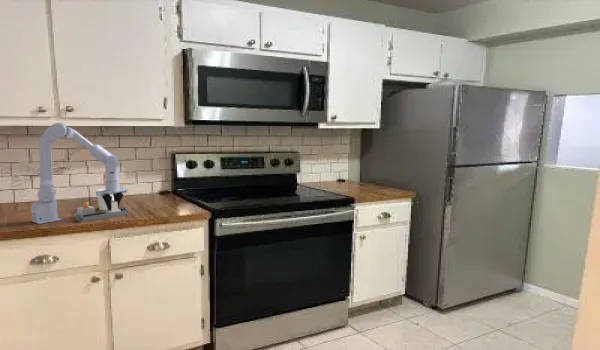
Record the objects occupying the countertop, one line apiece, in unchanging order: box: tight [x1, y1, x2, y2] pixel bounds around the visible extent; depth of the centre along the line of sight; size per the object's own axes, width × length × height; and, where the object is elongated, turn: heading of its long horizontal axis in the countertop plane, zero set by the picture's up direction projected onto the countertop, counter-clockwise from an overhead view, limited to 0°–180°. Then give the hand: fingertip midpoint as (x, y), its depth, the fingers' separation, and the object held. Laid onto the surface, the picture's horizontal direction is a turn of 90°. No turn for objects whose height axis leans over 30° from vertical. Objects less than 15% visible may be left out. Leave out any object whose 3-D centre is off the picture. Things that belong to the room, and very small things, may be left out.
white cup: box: [96, 188, 114, 211], centre depth 205 cm, size 8×8×10 cm
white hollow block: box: [76, 205, 96, 215], centre depth 190 cm, size 6×5×4 cm
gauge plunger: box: [82, 201, 90, 209], centre depth 189 cm, size 2×2×4 cm
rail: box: [75, 205, 129, 223], centre depth 188 cm, size 22×5×3 cm, turn 143°
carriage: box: [104, 201, 121, 213], centre depth 192 cm, size 6×3×6 cm, turn 143°
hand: (113, 209), depth 192 cm, fingers closed on carriage, 3 cm apart
